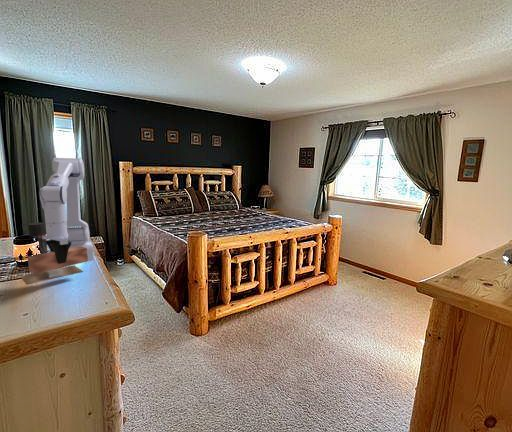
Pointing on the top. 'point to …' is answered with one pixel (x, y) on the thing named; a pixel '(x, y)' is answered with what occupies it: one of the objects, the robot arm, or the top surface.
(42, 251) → the deodorant
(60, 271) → the ridge
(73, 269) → the base board
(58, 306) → the top surface
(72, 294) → the top surface
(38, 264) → the reddish brown wooden block
